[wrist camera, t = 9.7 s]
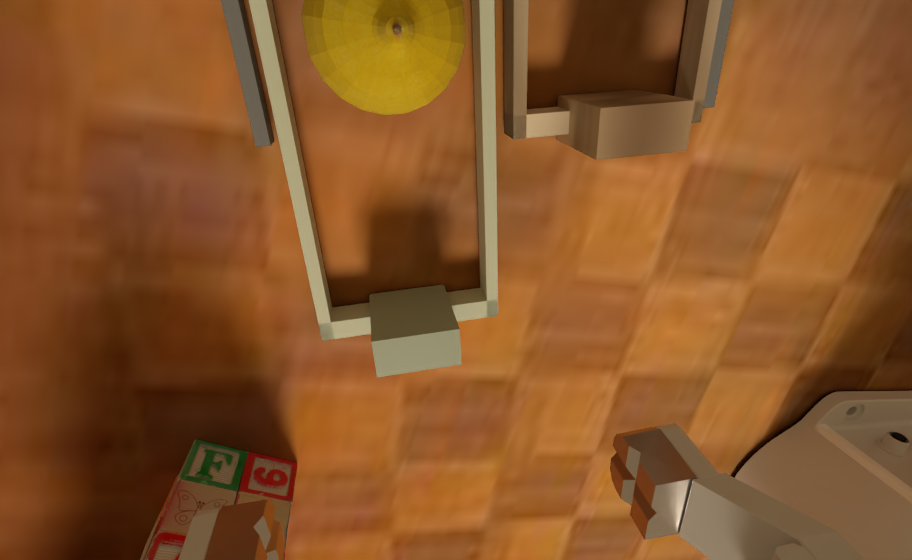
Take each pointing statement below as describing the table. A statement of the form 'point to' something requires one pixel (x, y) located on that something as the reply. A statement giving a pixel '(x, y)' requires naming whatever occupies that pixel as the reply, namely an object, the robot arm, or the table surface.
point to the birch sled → (613, 96)
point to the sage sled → (411, 310)
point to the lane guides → (255, 94)
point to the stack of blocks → (219, 492)
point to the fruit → (385, 49)
